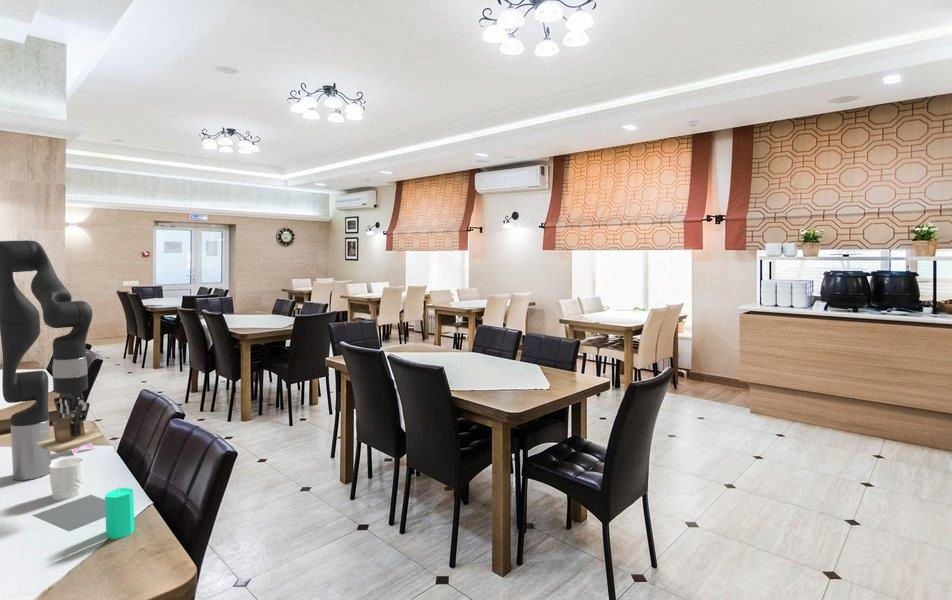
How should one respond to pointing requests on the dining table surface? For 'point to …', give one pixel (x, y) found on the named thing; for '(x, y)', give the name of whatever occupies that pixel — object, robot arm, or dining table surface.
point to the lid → (68, 437)
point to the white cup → (66, 478)
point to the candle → (119, 513)
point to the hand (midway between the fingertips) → (72, 434)
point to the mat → (75, 513)
